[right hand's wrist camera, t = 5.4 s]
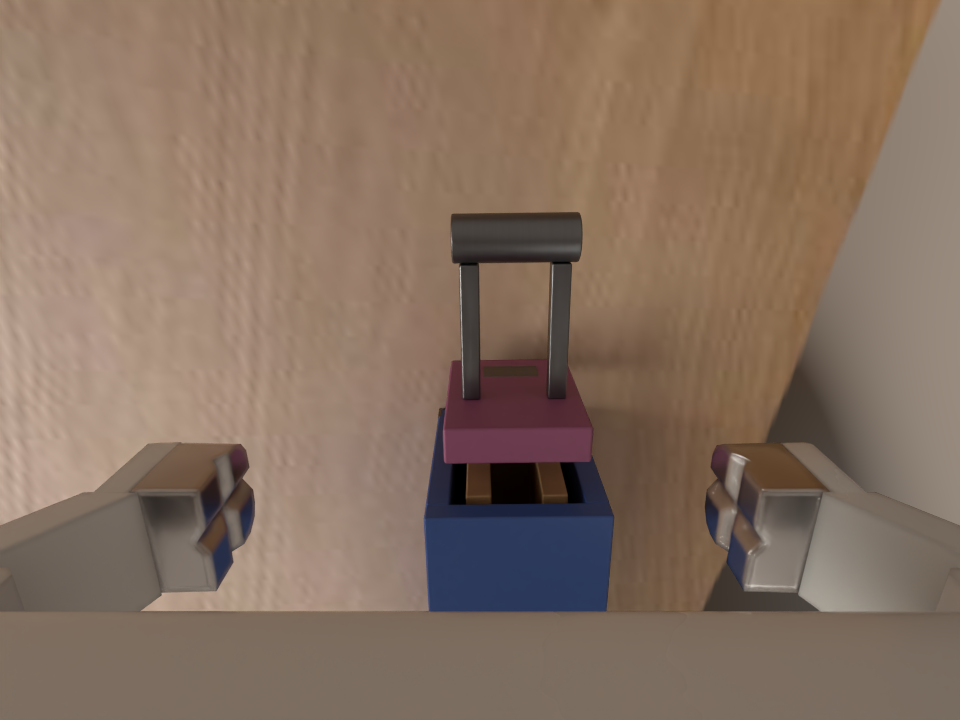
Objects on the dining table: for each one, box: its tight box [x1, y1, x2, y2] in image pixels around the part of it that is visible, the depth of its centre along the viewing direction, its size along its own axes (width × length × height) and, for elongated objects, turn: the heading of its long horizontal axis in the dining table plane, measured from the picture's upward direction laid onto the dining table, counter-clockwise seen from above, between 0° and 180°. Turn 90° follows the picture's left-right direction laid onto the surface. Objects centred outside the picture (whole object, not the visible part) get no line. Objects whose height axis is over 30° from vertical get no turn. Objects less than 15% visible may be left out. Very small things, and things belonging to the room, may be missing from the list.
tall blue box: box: [424, 409, 614, 611], centre depth 24 cm, size 19×6×8 cm, turn 1°
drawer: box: [443, 212, 593, 505], centre depth 22 cm, size 24×4×6 cm, turn 1°
